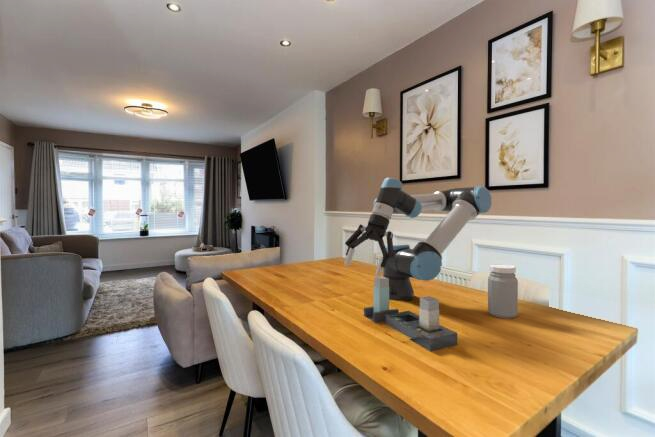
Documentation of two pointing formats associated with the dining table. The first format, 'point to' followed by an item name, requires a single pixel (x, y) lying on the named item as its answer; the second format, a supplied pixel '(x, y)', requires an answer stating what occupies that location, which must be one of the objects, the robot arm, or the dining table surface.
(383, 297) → the plug
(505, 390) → the dining table surface
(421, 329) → the port block
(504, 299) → the jar
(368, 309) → the holster
